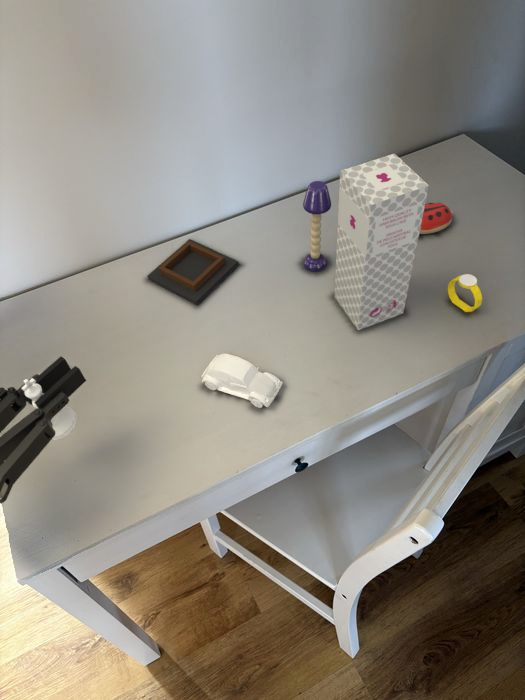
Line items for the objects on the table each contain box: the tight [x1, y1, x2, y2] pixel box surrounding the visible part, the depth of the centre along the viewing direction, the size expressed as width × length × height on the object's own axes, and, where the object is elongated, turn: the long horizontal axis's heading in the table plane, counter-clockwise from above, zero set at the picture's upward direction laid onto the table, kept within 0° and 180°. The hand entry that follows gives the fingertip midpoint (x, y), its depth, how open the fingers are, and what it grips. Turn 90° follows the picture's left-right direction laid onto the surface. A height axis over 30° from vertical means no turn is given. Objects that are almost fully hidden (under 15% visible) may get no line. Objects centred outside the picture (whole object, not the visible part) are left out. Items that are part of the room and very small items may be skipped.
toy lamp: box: [302, 180, 332, 272], centre depth 92 cm, size 5×5×17 cm
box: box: [334, 153, 430, 331], centre depth 81 cm, size 8×8×25 cm
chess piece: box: [21, 378, 77, 441], centre depth 67 cm, size 5×5×10 cm
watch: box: [447, 273, 483, 313], centre depth 87 cm, size 6×3×6 cm, turn 34°
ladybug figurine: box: [419, 202, 454, 235], centre depth 101 cm, size 7×10×4 cm
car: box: [200, 352, 283, 409], centre depth 81 cm, size 12×6×5 cm, turn 61°
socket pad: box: [147, 238, 240, 306], centre depth 98 cm, size 12×12×2 cm
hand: (73, 368), depth 68 cm, fingers closed on chess piece, 2 cm apart
